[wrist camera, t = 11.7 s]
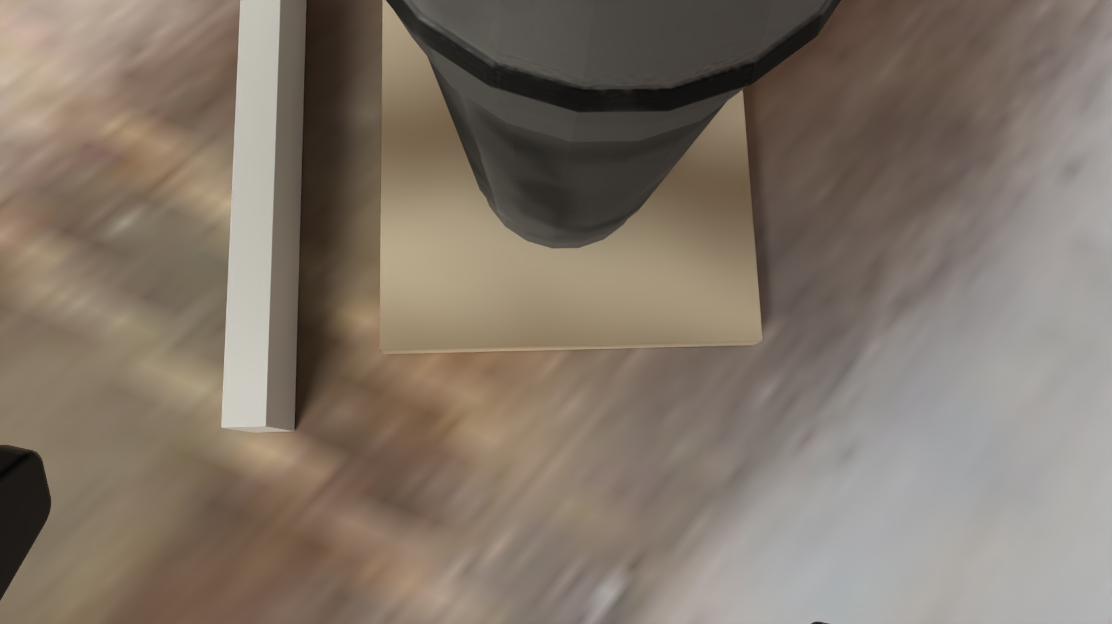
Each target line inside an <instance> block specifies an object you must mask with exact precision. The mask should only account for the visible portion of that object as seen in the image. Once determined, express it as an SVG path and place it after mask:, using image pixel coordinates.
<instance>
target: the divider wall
mask: <svg viewBox="0 0 1112 624" xmlns="http://www.w3.org/2000/svg"><path fill="white" fill-rule="evenodd" d="M306 1H307V0H240V23H239V45H238V67H237V90H236V112H235V134H234V157H233V179H232V202H231V224H230V246H229V269H228V291H227V313H226V336H225V358H224V380H223V403H222V425H221V428H227V429H234V430H241V431H249V432H288V431H294V427H295V391H296V356H297V320H298V285H299V249H300V214H301V178H302V143H303V107H304V72H305V36H306Z"/></svg>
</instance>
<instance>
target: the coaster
mask: <svg viewBox="0 0 1112 624" xmlns="http://www.w3.org/2000/svg"><path fill="white" fill-rule="evenodd" d="M761 341H763V338H762V325H761V313H760V300H759V288H758V275H757V263H756V250H755V238H754V225H753V212H752V200H751V187H750V175H749V162H748V150H747V137H746V125H745V112H744V100H743V90H742V91H740V92H739V93H737V94H736V95H735V96H733V97H732V98H731V99H729V100H728V101H727V102H726V103H725V104H724V106H723V107H722V108H721V109H720V111H719V112H718V113H717V114H716V115H715V117H714V118H713V119H712V120H711V122H710V123H709V124H708V125H707V127H706V128H705V129H704V130H703V132H702V133H701V134H700V135H699V136H698V138H697V139H696V140H695V141H694V143H693V144H692V145H691V146H690V148H689V149H688V150H687V151H686V153H685V154H684V155H683V156H682V157H681V159H680V160H679V161H678V162H677V164H676V165H675V166H674V167H673V169H672V170H671V171H670V172H669V174H668V175H667V176H666V177H665V178H664V180H663V181H662V182H661V183H660V185H659V186H658V187H657V188H656V190H655V191H654V192H653V193H652V195H651V196H650V197H649V198H648V199H647V201H646V202H645V203H644V204H643V206H642V207H641V208H640V209H639V211H638V212H636V213H635V214H634V215H632V216H631V217H630V218H628V219H627V221H626V222H625V224H624V225H622V226H621V227H620V228H618V229H617V230H616V231H614V232H613V233H612V234H610V235H609V236H608V237H606V238H605V239H604V240H601V241H598V242H595V243H592V244H589V245H586V246H583V247H580V248H549V247H546V246H542V245H539V244H535V243H532V242H528V241H526V240H525V239H523V238H522V237H520V236H519V235H517V234H516V233H514V232H513V231H511V230H510V229H508V228H507V227H505V226H504V224H503V223H502V222H501V221H500V219H499V218H498V217H497V216H496V214H495V213H494V212H493V210H492V209H491V208H490V207H489V204H488V202H487V199H486V197H485V196H484V194H483V193H482V192H481V191H480V189H479V186H478V184H477V181H476V179H475V176H474V174H473V171H472V169H471V166H470V163H469V161H468V158H467V156H466V153H465V151H464V148H463V146H462V143H461V141H460V138H459V135H458V133H457V130H456V128H455V125H454V123H453V120H452V118H451V115H450V113H449V110H448V108H447V105H446V102H445V100H444V97H443V95H442V92H441V90H440V87H439V85H438V82H437V80H436V77H435V75H434V72H433V69H432V67H431V64H430V62H429V59H428V57H427V55H426V54H425V53H424V52H423V50H422V49H421V48H420V47H419V46H418V44H417V43H416V42H415V41H414V39H413V38H412V37H411V35H410V34H409V32H408V31H407V29H406V28H405V26H404V25H403V23H402V22H401V20H400V19H399V17H398V16H397V14H396V13H395V11H394V10H393V9H392V8H391V6H390V5H389V4H388V3H387V1H386V0H383V26H382V137H381V248H380V351H382V352H383V353H384V354H407V353H449V352H490V351H531V350H572V349H613V348H655V347H696V346H737V345H755V344H757V343H759V342H761Z"/></svg>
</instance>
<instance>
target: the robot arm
mask: <svg viewBox="0 0 1112 624" xmlns="http://www.w3.org/2000/svg"><path fill="white" fill-rule="evenodd" d="M50 508H51V496H50V492H49V487H48V483H47V479H46V474H45V470H44V465H43V461H42V458H41V456H40V455H39V454H38V453H37V452H35V451H33V450H29V449H24V448H19V447H15V446H10V445H0V600H1V599H2V597H3V595H4V593H5V592H6V590H7V588H8V586H9V585H10V583H11V581H12V580H13V578H14V576H15V574H16V573H17V571H18V569H19V567H20V566H21V564H22V562H23V560H24V559H25V557H26V555H27V554H28V552H29V550H30V548H31V547H32V545H33V543H34V541H35V540H36V538H37V536H38V535H39V533H40V531H41V529H42V528H43V526H44V524H45V522H46V520H47V518H48V515H49V513H50ZM812 624H828V623H823V622H813V623H812Z"/></svg>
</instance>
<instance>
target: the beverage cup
mask: <svg viewBox="0 0 1112 624" xmlns="http://www.w3.org/2000/svg"><path fill="white" fill-rule="evenodd" d="M386 1H387V3H388V4H389V5H390V6H391V8H392V9H393V10H394V11H395V13H396V14H397V16H398V17H399V19H400V20H401V22H402V23H403V25H404V26H405V28H406V29H407V31H408V32H409V34H410V35H411V37H412V38H413V39H414V41H415V42H416V43H417V44H418V46H419V47H420V48H421V49H422V50H423V52H424V53H425V54H426V55H427V57H428V59H429V62H430V64H431V67H432V69H433V72H434V75H435V77H436V80H437V82H438V85H439V87H440V90H441V92H442V95H443V97H444V100H445V102H446V105H447V108H448V110H449V113H450V115H451V118H452V120H453V123H454V125H455V128H456V130H457V133H458V135H459V138H460V141H461V143H462V146H463V148H464V151H465V153H466V156H467V158H468V161H469V163H470V166H471V169H472V171H473V174H474V176H475V179H476V181H477V184H478V186H479V189H480V191H481V192H482V193H483V194H484V196H485V197H486V199H487V202H488V204H489V207H490V208H491V209H492V210H493V212H494V213H495V214H496V216H497V217H498V218H499V219H500V221H501V222H502V223H503V224H504V226H505V227H507V228H508V229H510V230H511V231H513V232H514V233H516V234H517V235H519V236H520V237H522V238H523V239H525V240H526V241H528V242H532V243H535V244H539V245H542V246H546V247H549V248H580V247H583V246H586V245H589V244H592V243H595V242H598V241H601V240H604V239H605V238H606V237H608V236H609V235H610V234H612V233H613V232H614V231H616V230H617V229H618V228H620V227H621V226H622V225H624V224H625V222H626V221H627V219H628V218H630V217H631V216H632V215H634V214H635V213H636V212H638V211H639V209H640V208H641V207H642V206H643V204H644V203H645V202H646V201H647V199H648V198H649V197H650V196H651V195H652V193H653V192H654V191H655V190H656V188H657V187H658V186H659V185H660V183H661V182H662V181H663V180H664V178H665V177H666V176H667V175H668V174H669V172H670V171H671V170H672V169H673V167H674V166H675V165H676V164H677V162H678V161H679V160H680V159H681V157H682V156H683V155H684V154H685V153H686V151H687V150H688V149H689V148H690V146H691V145H692V144H693V143H694V141H695V140H696V139H697V138H698V136H699V135H700V134H701V133H702V132H703V130H704V129H705V128H706V127H707V125H708V124H709V123H710V122H711V120H712V119H713V118H714V117H715V115H716V114H717V113H718V112H719V111H720V109H721V108H722V107H723V106H724V104H725V103H726V102H727V101H728V100H729V99H731V98H732V97H733V96H735V95H736V94H737V93H739V92H740V91H742V90H743V89H744V88H746V87H747V86H748V85H751V84H752V83H754V82H755V81H756V80H758V79H759V78H761V77H762V76H763V75H765V74H766V73H767V72H769V71H770V70H771V69H773V68H774V67H775V66H777V65H778V64H780V63H781V62H782V61H784V60H785V59H786V58H788V57H789V56H790V55H792V54H793V53H794V52H796V51H797V50H799V49H800V48H801V47H803V46H804V45H805V44H807V43H808V42H809V41H811V40H812V39H813V38H815V37H816V36H817V35H818V33H819V32H820V30H821V29H822V27H823V26H824V24H825V23H826V22H827V20H828V19H829V17H830V16H831V14H832V13H833V11H834V10H835V8H836V7H837V5H838V4H839V2H840V1H841V0H386Z"/></svg>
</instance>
